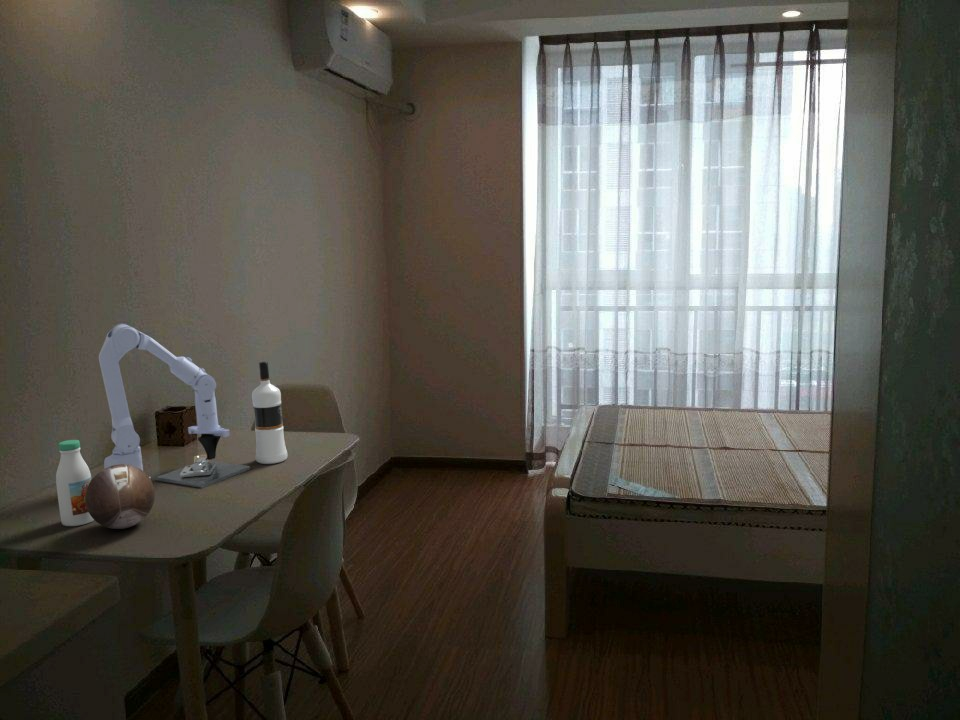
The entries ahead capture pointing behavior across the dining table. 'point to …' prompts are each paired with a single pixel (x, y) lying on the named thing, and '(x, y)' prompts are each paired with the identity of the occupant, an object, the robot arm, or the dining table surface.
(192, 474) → the silver flat metal piece
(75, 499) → the milk bottle
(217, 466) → the base plate
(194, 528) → the dining table surface
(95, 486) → the shiny brown metallic sphere
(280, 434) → the vodka
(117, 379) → the robot arm
